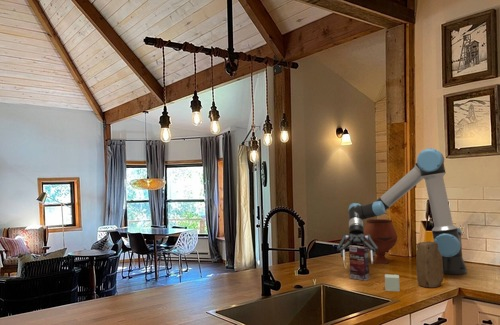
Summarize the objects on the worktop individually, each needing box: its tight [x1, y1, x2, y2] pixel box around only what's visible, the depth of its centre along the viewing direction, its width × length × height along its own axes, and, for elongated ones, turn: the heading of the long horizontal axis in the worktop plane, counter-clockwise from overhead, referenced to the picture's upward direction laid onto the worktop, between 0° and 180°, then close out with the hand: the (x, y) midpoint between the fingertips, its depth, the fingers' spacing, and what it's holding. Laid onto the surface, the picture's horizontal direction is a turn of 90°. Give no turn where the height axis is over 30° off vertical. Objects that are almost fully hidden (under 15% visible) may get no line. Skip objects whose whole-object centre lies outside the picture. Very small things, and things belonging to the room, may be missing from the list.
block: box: [415, 240, 444, 289], centre depth 191 cm, size 11×8×20 cm
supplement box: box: [348, 245, 370, 281], centre depth 207 cm, size 9×5×16 cm, turn 47°
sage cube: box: [384, 273, 401, 292], centre depth 186 cm, size 6×6×6 cm
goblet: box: [363, 218, 398, 265], centre depth 245 cm, size 19×19×25 cm
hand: (358, 262), depth 206 cm, fingers open, 13 cm apart
